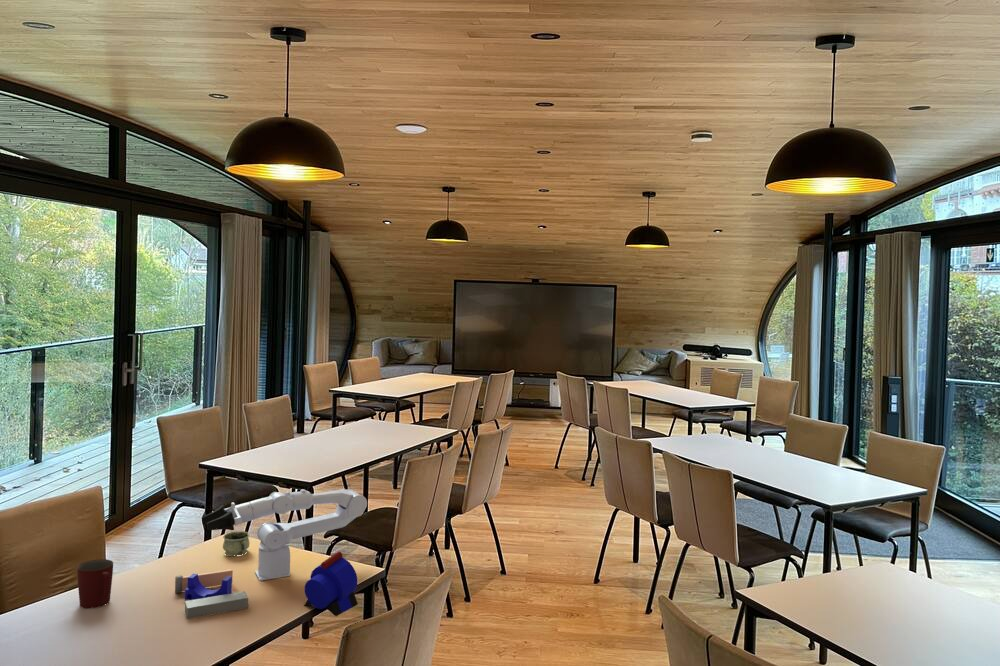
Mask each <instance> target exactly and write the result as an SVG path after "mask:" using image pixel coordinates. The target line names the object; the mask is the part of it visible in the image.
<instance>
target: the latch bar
mask: <svg viewBox="0 0 1000 666" xmlns="http://www.w3.org/2000/svg"><path fill="white" fill-rule="evenodd" d="M233 572H234V571H233V568H230V569H222V570H217V571H212V572H211V571H210V572H203V573H197V574H198V578H199V581H200V583H201V584H202V585H203V586H204V587H205V588H210V587H218V586H221V585H222V580H223V579H225V578H226V577H227V576H229V577H232V578H233V577H234V576H233ZM191 575H192V574H190V575H182V574H181V575H180V574H179V575H176V576H175V577H174V578H175V580H174V593H175V594H179V593H182V592H185V589H186V588H188V577H189V576H191Z"/></svg>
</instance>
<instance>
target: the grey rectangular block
mask: <svg viewBox="0 0 1000 666" xmlns="http://www.w3.org/2000/svg"><path fill="white" fill-rule="evenodd" d="M244 609H249V596H248V595H247V592H246V591H245V590H244V591H238V592H232V593H231V594H225V595H219V596H213V597H207V598H201V599H195V600H184V613H185V616H186V620H188V619H190V620H191V619H195V618H200V617H206V616H211V615H218V614H222V613H228V612H235V611H240V610H244Z"/></svg>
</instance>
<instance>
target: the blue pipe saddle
mask: <svg viewBox="0 0 1000 666" xmlns="http://www.w3.org/2000/svg"><path fill="white" fill-rule="evenodd" d="M198 574H199V573H191V574H190V575H191V576H189V575H188V576H189V577H188V588H186V589H185V591H184V600H188V599H189V600H195V599H201V598H207V597H213V596H219V595H225V594H231V593H233V577H229V576H227V577H226V578H225V579H223V580H222V585H220V587H219V588H218V589H209V588H208V587H204V586H203V585H202V584H201V583H200V581H199V578H198ZM189 600H188V601H189Z"/></svg>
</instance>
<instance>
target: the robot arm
mask: <svg viewBox="0 0 1000 666" xmlns="http://www.w3.org/2000/svg"><path fill="white" fill-rule="evenodd" d="M322 504H323V505H327V504H337V507H336V509H335V511H334V512H332V513H328V514H324V515H319V516H314V517H311V518H306V519H301V520H297V521H294V522H289V523H286V522H276V523H275V522H274V523H273V522H265V523H263V524H261V525H260V526H259V528H258V529H257V532H256V533H257V534H256V535H257V539H258V540H259V541H260V542H259V545H258V562H257V563H258V566H257V569H256V570H254V574H255V576H257V578H258V580H259V581H260V582H261V581H266V580H273V579H279V578H285V577H290V576H291V549H290V547H289V544H290V543H291V541H292V540H295V539H300V538H304V537H308V536H312V535H315V534H321V533H326V532H329V531H332V530H337V529H342V528H344V527H346V526H347V525H349V524H350V523H351V522H352V521H353V520H355V519H356V518H358V517H361V516H362V515H363V514H364V512H365V510H366V508H367V506H368V500H367V498H366V497H365V496H364V495H362V494H360V493H358V492H357V491H356V490H355V489H352V488H347V489H346V488H341V489H337V490H330V491H324V492H317V493H311V492H310V491H308V490H306V489H303V488H302V489H300V491H293V492H291V491H289V490H287V491H286V492H285V493H283V492H280V491H278V492H277V491H273V492H271V493H270V494H269V496H266V497H261V498H258V499H254V500H251V501H248V502H243V503H240V504H236V503H235V502H231V503H230V506H229V507H227V508H225V506H224V505H223V504H222V505H220V506H219V507H218V508H216V509H215V510H214V511H211V512H210V513H208V514H205V515H204V516H202V517H201V524H202V525H206V526H207V528H206V529H207V531H216V530H217V531H218V530H228V531H235V527H234V526H239V525H242V524H243V523H248V522H250V521H254V520H257V519H261V518H263V517H265V518H266V517H268V516H271V515H274V514H279V515H285V514H288V513H289V512H291V511H292V512H293V511H300V510H309V509H310V508H311V507H312V506H314V505H322Z"/></svg>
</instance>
